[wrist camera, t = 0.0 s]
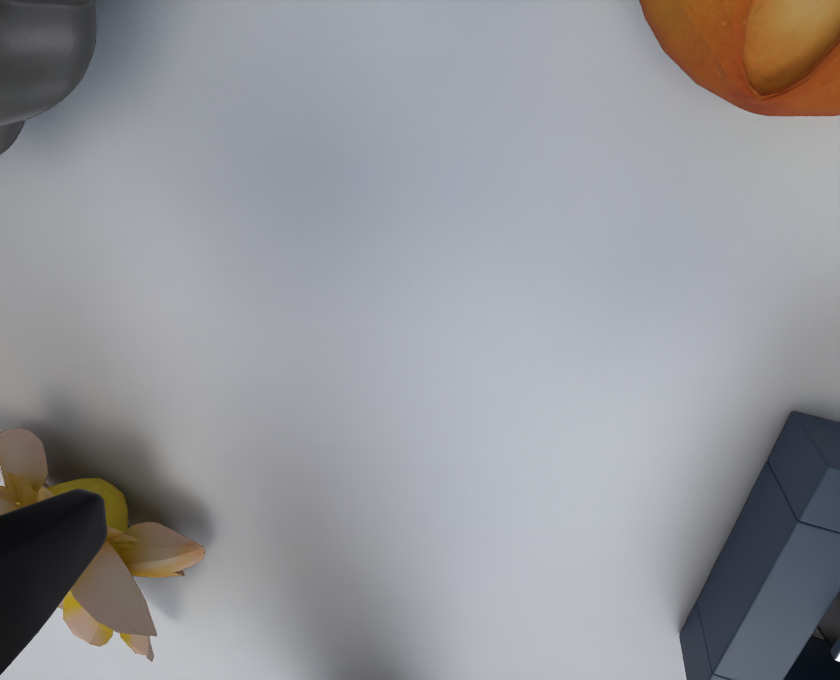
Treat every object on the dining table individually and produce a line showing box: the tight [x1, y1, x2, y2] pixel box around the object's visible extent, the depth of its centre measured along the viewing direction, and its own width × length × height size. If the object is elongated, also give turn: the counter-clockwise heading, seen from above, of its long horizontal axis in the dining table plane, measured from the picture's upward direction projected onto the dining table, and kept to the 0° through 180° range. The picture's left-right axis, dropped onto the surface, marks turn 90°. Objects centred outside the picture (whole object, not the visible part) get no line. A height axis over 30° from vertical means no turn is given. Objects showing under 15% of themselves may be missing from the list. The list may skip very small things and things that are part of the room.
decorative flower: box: [0, 428, 205, 662], centre depth 28 cm, size 15×11×10 cm
